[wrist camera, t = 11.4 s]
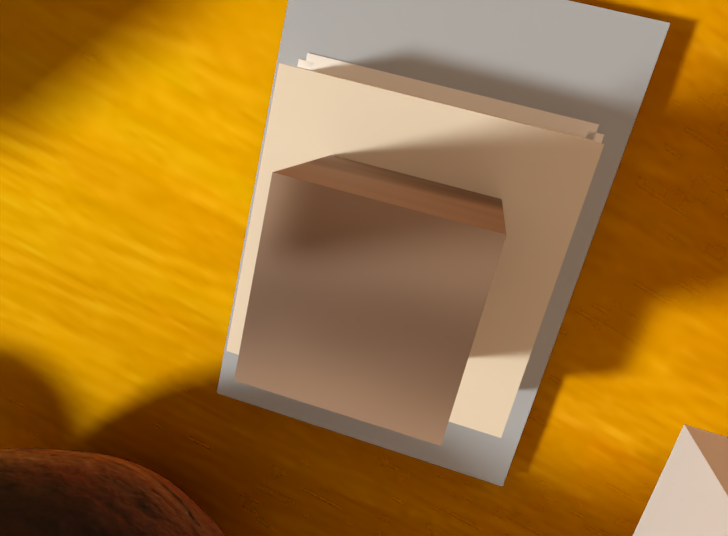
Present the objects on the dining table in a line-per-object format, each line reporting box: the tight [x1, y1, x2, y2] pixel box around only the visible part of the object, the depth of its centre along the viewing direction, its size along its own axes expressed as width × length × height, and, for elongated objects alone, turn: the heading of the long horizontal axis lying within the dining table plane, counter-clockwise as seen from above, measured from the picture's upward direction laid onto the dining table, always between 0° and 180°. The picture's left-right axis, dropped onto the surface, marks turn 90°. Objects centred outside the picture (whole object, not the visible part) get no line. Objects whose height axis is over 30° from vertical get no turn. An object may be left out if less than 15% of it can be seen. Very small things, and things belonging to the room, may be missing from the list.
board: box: [217, 0, 670, 487], centre depth 24 cm, size 20×14×5 cm
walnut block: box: [234, 155, 506, 446], centre depth 19 cm, size 6×6×6 cm
